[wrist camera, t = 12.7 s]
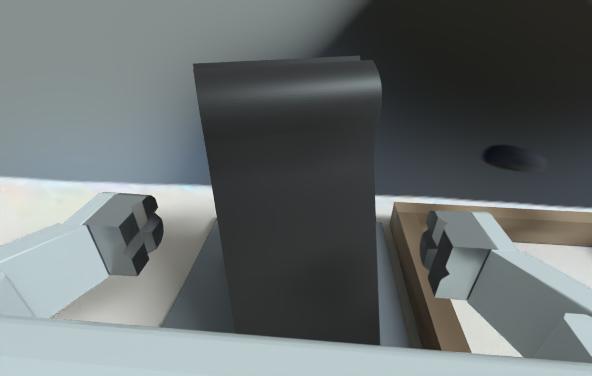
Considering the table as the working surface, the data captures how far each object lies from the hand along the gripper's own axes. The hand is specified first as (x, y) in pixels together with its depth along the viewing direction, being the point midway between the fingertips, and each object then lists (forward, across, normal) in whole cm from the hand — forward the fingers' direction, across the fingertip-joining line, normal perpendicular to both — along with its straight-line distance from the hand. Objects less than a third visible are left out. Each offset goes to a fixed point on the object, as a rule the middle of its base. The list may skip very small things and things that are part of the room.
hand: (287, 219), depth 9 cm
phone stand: (+4, 0, -8) cm, 9 cm away
